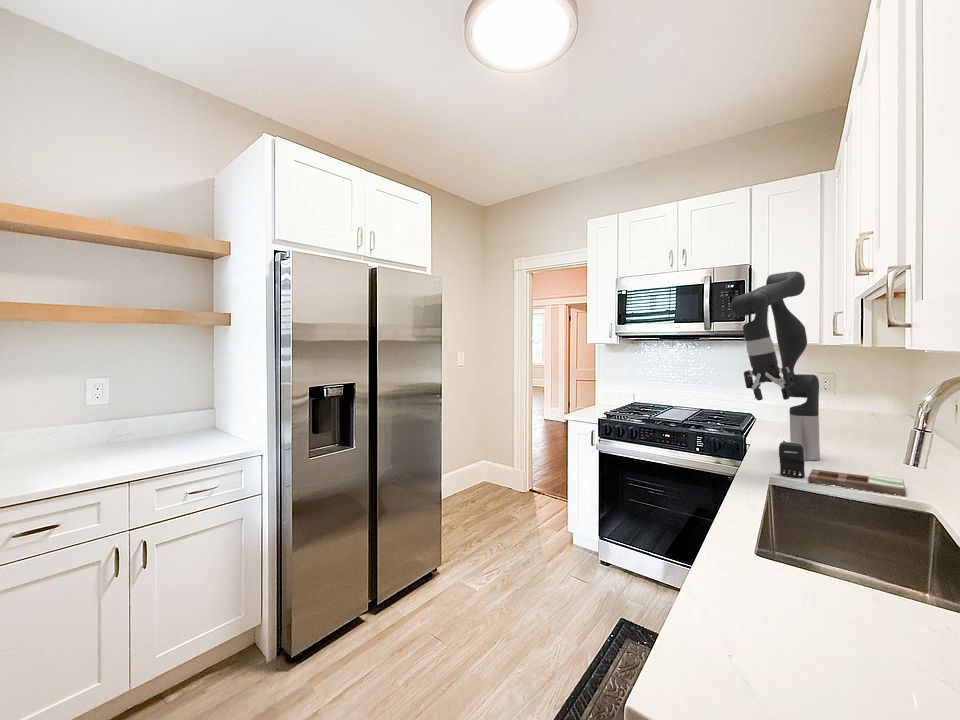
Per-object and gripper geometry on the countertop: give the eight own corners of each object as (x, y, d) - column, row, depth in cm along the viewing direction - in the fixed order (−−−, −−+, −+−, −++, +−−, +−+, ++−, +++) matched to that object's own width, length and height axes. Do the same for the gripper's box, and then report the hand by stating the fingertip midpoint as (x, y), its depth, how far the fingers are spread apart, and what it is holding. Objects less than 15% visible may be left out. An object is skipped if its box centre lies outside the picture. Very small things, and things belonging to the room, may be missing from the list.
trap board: (812, 475, 145) (812, 468, 145) (903, 486, 130) (903, 479, 130) (808, 482, 136) (808, 475, 136) (905, 496, 121) (905, 488, 121)
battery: (778, 476, 145) (777, 442, 145) (780, 473, 148) (779, 440, 148) (804, 479, 140) (803, 444, 140) (805, 477, 143) (804, 442, 143)
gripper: (790, 347, 137) (802, 396, 136) (747, 352, 150) (758, 397, 149) (777, 351, 133) (789, 401, 133) (733, 356, 146) (745, 402, 146)
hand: (772, 399), depth 141 cm, fingers open, 8 cm apart
